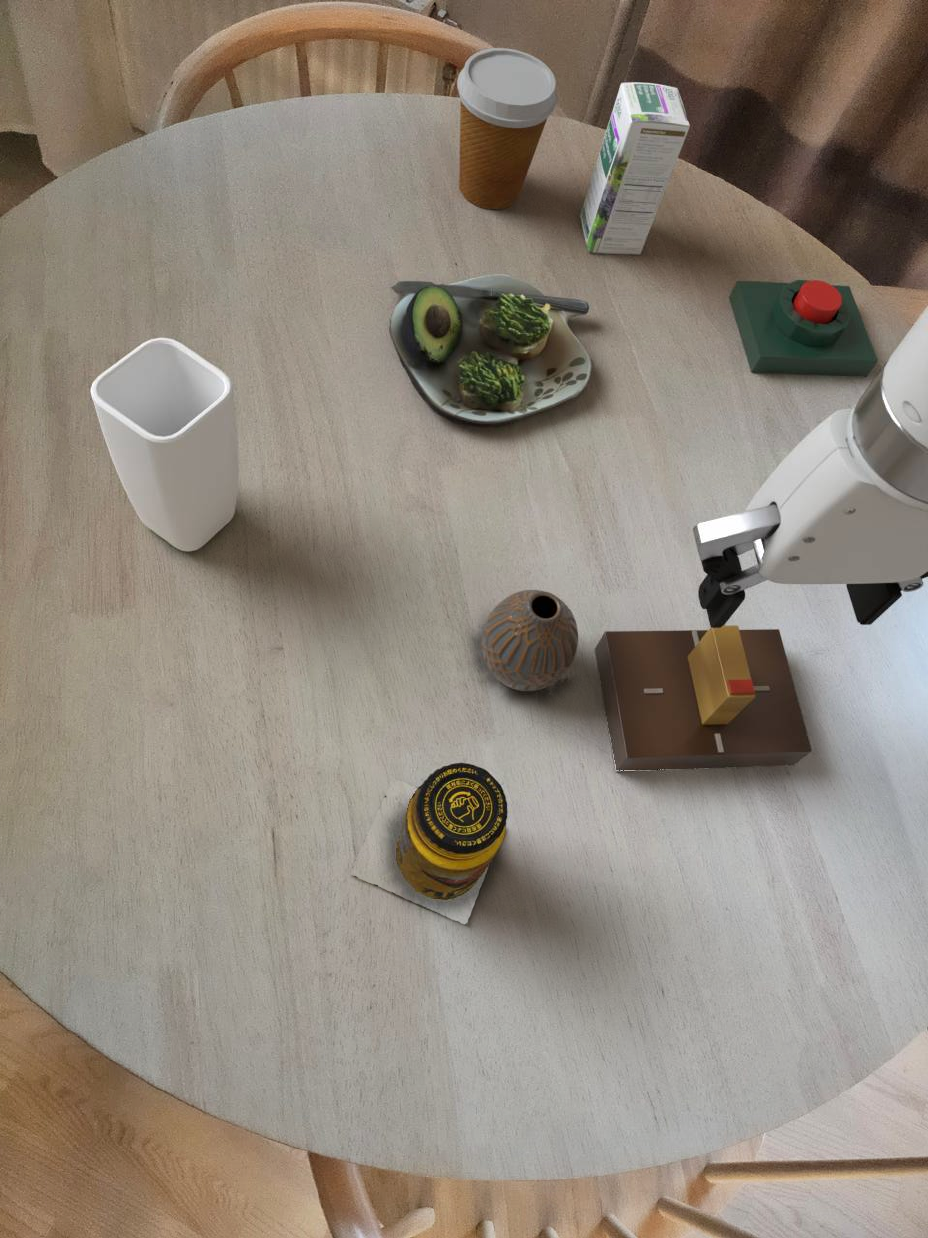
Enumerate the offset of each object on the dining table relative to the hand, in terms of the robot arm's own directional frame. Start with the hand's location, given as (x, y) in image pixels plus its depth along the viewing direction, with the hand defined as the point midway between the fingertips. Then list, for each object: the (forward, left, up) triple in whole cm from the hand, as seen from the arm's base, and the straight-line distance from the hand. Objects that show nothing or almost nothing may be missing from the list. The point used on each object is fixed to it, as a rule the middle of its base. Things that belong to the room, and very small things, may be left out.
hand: (784, 605), depth 59 cm
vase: (+13, -4, -16) cm, 21 cm away
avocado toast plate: (+13, -35, -16) cm, 40 cm away
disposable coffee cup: (+10, -58, -16) cm, 61 cm away
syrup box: (-2, -52, -16) cm, 54 cm away
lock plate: (0, 0, -16) cm, 15 cm away
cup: (+38, -17, -16) cm, 45 cm away
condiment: (+21, +10, -16) cm, 28 cm away
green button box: (-19, -39, -16) cm, 46 cm away
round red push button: (-19, -39, -12) cm, 45 cm away
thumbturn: (0, 0, -12) cm, 12 cm away
